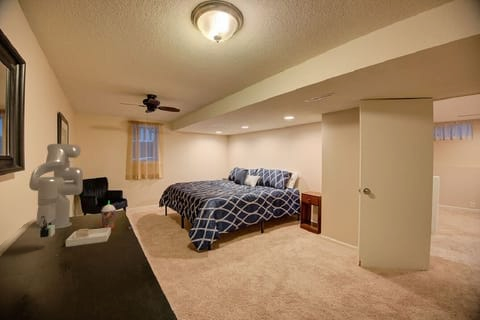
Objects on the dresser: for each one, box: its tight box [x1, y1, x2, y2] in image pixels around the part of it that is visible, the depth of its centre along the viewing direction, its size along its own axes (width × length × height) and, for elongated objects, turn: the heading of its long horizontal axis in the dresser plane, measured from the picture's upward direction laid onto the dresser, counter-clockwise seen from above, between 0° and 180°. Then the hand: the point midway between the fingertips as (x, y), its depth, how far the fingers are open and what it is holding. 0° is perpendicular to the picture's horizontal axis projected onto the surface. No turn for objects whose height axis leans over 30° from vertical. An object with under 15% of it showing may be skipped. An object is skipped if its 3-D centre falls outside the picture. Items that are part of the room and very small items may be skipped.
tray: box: [65, 227, 112, 248], centre depth 121 cm, size 16×19×4 cm
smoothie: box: [101, 200, 117, 231], centre depth 139 cm, size 8×8×20 cm
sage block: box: [38, 225, 56, 239], centre depth 108 cm, size 5×5×5 cm
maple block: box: [76, 228, 90, 239], centre depth 120 cm, size 5×5×5 cm
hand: (46, 234), depth 108 cm, fingers closed on sage block, 4 cm apart
